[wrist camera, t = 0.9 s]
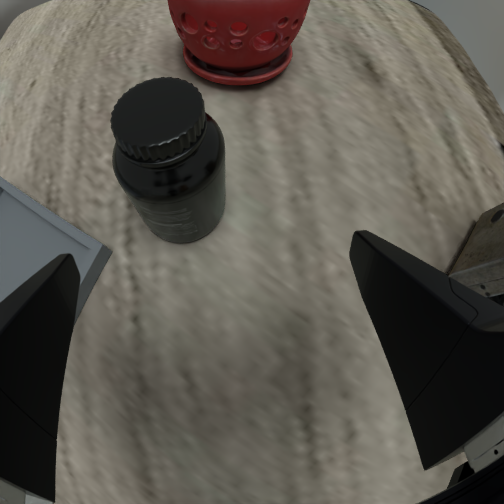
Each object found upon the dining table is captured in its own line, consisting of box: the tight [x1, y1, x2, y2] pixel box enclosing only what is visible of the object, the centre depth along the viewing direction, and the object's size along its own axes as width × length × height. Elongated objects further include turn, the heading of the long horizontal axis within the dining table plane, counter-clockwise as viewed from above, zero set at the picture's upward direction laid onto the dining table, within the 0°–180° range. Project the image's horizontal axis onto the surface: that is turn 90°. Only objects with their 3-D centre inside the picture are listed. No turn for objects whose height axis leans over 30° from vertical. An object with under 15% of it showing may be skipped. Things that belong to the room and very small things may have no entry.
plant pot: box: [168, 0, 310, 85], centre depth 24 cm, size 13×13×12 cm
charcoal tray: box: [0, 177, 112, 324], centre depth 21 cm, size 16×16×2 cm
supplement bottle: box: [110, 77, 225, 243], centre depth 19 cm, size 7×7×12 cm
